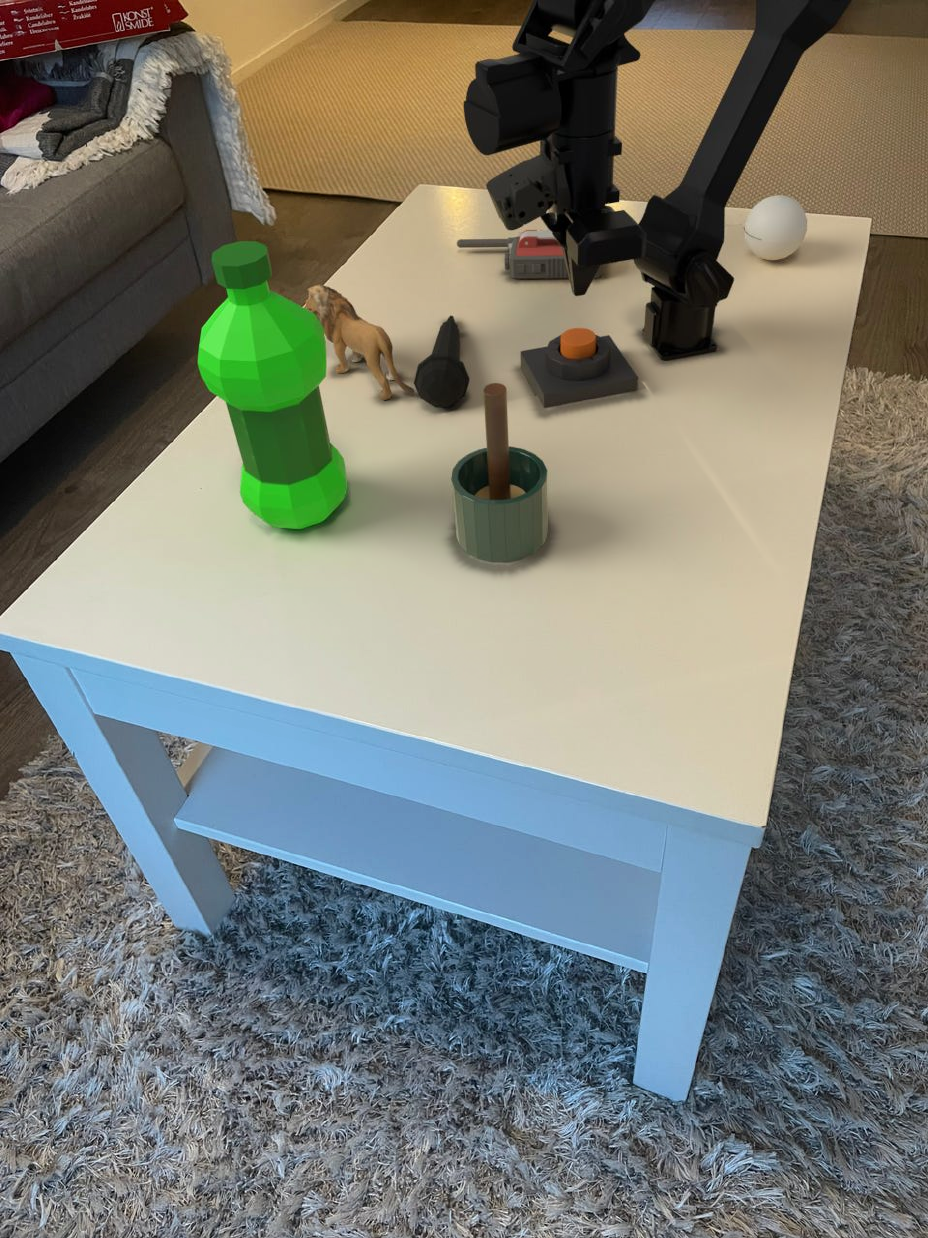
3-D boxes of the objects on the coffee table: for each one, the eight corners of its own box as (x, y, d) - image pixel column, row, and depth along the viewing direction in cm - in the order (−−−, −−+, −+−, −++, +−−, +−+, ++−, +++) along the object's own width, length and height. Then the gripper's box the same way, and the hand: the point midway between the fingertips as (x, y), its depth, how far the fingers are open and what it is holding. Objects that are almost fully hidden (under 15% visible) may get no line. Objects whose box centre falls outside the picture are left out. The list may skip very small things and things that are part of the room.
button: (589, 340, 101) (589, 325, 100) (600, 357, 99) (600, 341, 97) (556, 346, 101) (556, 331, 99) (566, 363, 98) (566, 348, 97)
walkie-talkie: (612, 247, 124) (458, 249, 126) (614, 213, 121) (456, 216, 123) (611, 280, 118) (449, 281, 120) (613, 244, 114) (447, 246, 117)
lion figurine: (303, 367, 108) (287, 291, 102) (337, 346, 111) (323, 271, 104) (398, 408, 101) (388, 330, 95) (432, 385, 104) (423, 307, 97)
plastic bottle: (311, 465, 95) (255, 212, 77) (378, 511, 89) (335, 249, 71) (225, 514, 90) (145, 256, 73) (291, 565, 85) (221, 300, 67)
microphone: (439, 347, 115) (425, 425, 99) (420, 303, 112) (403, 376, 96) (481, 332, 113) (475, 408, 98) (464, 286, 110) (454, 358, 95)
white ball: (804, 246, 120) (816, 186, 115) (797, 273, 116) (809, 212, 110) (723, 239, 123) (731, 180, 118) (713, 265, 118) (721, 205, 113)
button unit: (608, 352, 106) (609, 319, 103) (636, 395, 100) (639, 361, 97) (520, 369, 105) (519, 335, 102) (544, 413, 99) (543, 379, 96)
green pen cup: (533, 501, 89) (532, 438, 84) (558, 557, 83) (559, 493, 78) (448, 518, 88) (442, 455, 83) (468, 576, 82) (463, 512, 77)
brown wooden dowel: (521, 510, 87) (516, 367, 77) (535, 543, 84) (533, 399, 73) (469, 520, 86) (457, 378, 76) (482, 554, 83) (471, 411, 73)
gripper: (468, 105, 90) (477, 266, 101) (522, 179, 77) (525, 354, 88) (582, 88, 91) (579, 249, 102) (654, 158, 78) (641, 333, 89)
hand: (578, 293), depth 95 cm, fingers closed
